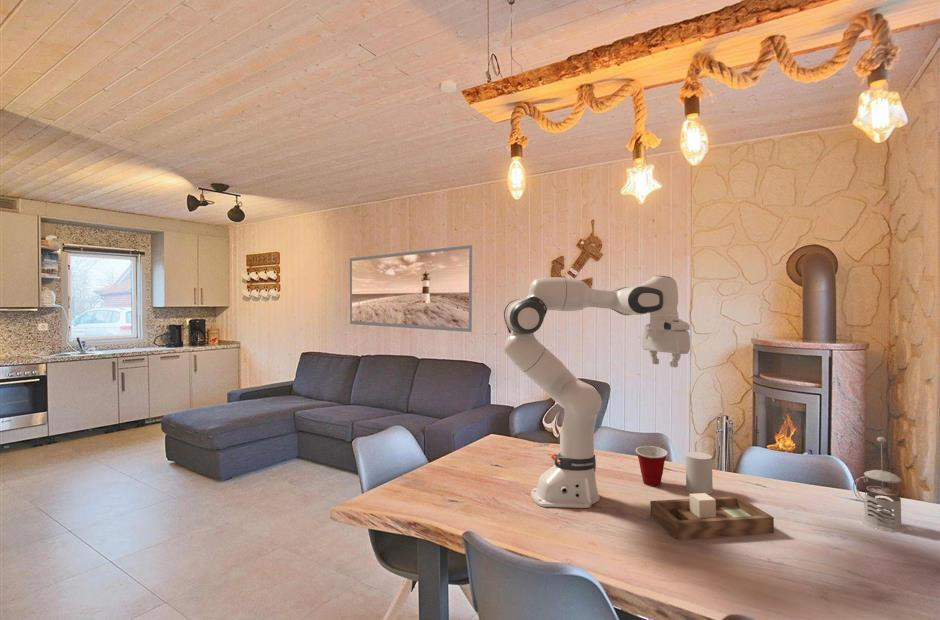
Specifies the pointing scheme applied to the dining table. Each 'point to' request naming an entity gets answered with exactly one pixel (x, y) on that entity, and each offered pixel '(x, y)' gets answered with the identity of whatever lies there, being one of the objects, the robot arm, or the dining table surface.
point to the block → (702, 505)
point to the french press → (882, 501)
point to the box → (712, 519)
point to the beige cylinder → (699, 473)
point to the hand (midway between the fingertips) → (664, 365)
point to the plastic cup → (651, 464)
